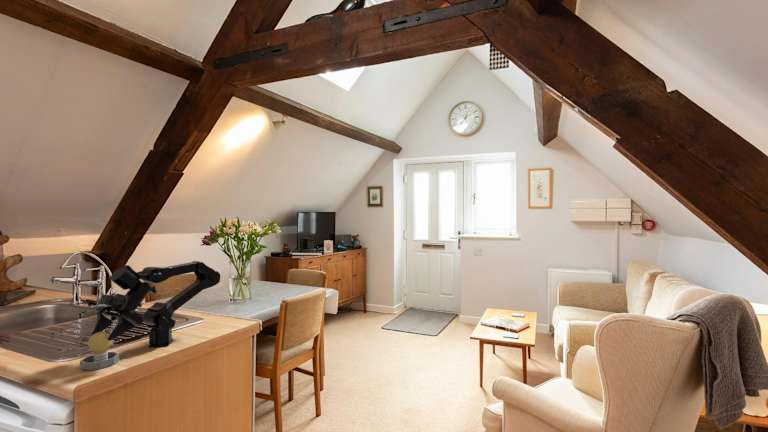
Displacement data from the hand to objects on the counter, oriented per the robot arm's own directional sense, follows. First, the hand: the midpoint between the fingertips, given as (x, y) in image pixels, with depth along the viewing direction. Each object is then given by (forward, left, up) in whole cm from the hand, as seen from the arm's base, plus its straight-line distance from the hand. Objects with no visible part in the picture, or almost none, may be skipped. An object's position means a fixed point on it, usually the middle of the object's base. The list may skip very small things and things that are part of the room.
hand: (100, 338), depth 124 cm
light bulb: (0, 0, -8) cm, 8 cm away
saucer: (0, 0, -8) cm, 8 cm away
